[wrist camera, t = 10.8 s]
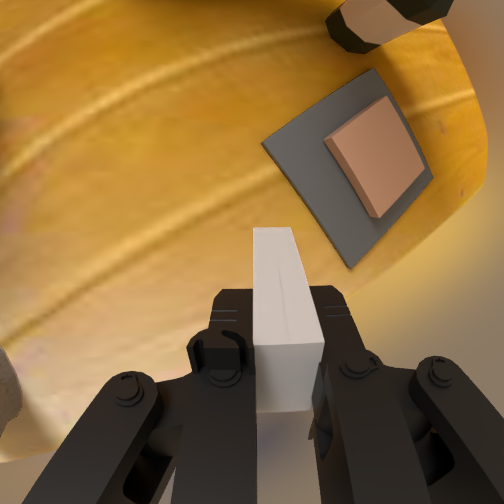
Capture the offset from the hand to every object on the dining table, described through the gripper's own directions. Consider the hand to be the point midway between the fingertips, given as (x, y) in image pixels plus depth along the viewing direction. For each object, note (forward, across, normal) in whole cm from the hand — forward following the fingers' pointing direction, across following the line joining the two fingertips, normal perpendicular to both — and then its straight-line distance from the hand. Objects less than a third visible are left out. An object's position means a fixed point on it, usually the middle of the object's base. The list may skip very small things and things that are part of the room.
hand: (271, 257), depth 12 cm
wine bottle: (+31, +14, +21) cm, 40 cm away
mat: (+26, +14, +1) cm, 30 cm away
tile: (+23, +11, -1) cm, 25 cm away
